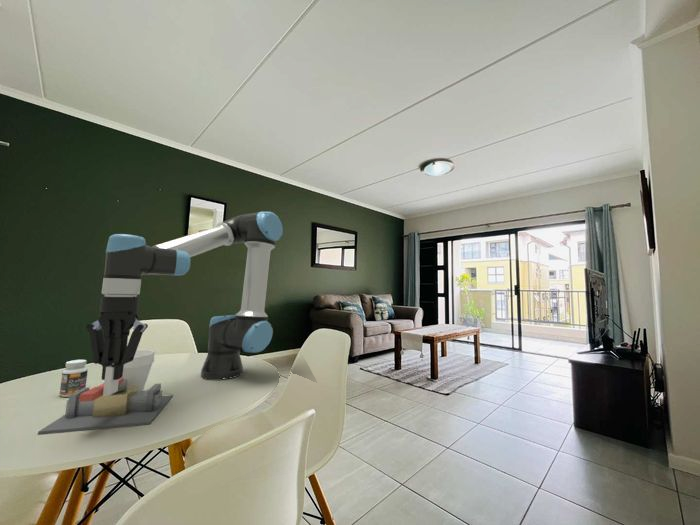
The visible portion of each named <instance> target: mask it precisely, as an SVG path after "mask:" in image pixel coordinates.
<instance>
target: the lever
mask: <svg viewBox="0 0 700 525" xmlns="http://www.w3.org/2000/svg"><path fill="white" fill-rule="evenodd" d="M127 381H128V380H127V379H124V378H120V379H119V382H118V391H117V392H120V391H124V390H126V389H127ZM103 390H104V383H101V384H100V385H98V386H94V387H92V388H89V390H88V391H86V392H84V393H82V394H80V398H79V402H85V401H94V400H95V399H97V398H99V397H101V396H102V395H103Z"/></svg>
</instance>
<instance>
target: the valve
mask: <svg viewBox="0 0 700 525" xmlns="http://www.w3.org/2000/svg"><path fill="white" fill-rule="evenodd" d="M161 388H162V383H154V384H153V385H152V386H151V387H150V388H149V389H147V390H143V391H138V390H139V385H136V386H127V389H126V390H124V391H120V392H115V393H113V394H111V395H102V396H101V397H99V398H97V399H95V400H94V401H85V402H79V398H80V394H82V393H84V392H86V391H88V390H90V389H91V387H90V386H89V387H87V386H86V388H82V389H80V390H78V391H76V392H75V393H73V394H71V395H69V397H68V400H66V405H65V407H66V408H65V413H64V415H65V417H67V419H68V418H74V417H78V416H90V415H93V418H94V417H107V416H119V415H126V414H127V413H129V412H142V411H146V412H152V411H155V410H157V409H158V408H159V407H160V405H161V403H162V396H163V389H161Z"/></svg>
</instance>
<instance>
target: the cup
mask: <svg viewBox="0 0 700 525" xmlns="http://www.w3.org/2000/svg"><path fill="white" fill-rule="evenodd" d="M154 362H155V350H153V349H141V348H140V349H137V350H136V353H135V356H134V359H133V361H131V362H128V363H126V364H124V367H123V376H122V378H124V379H127V380H128V381H127V386H136V385H139V390H138V391H144V389H145V386H146V384H147V380H148V377H149V375H150V371H151V369H152V368H151V367H153V366H152V365H153V363H154Z"/></svg>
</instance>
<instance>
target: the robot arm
mask: <svg viewBox="0 0 700 525" xmlns="http://www.w3.org/2000/svg"><path fill="white" fill-rule="evenodd" d="M283 229H284V227H283V224H282V221H281V220H280V218H279V216H278V215H277V214H276V213H274V212H273V211H258V212H251V213H244V214H241V215H237V216H235V217H231V218H230V219H227V220H224V221H221V222H219V223H217V224H216V225H215V226H213V227H210V228H207V229H204V230H201V231H198V232H194V233H192V234H188V235H184V236H182V237H178V238H175V239H171V240H168V241H165V242H162V243H159V244H155V245H153V246H152V245H151V246H150V245H147V243H146V239H145V238H144V237H143V236H139V235H133V234H127V233H114V234H112V235H110V236H109V237H108V241H107V245H106V249H105V262H104V263H105V264H104V272H103V273H104V274H103V280H102V288H101V294H102V295H104V296H102V297H100V302H99V311H100V314H99V316H98V317H97V320H96V321H94V322H92V323H87V324H86V325H85V328H86V330H87V332H88V334H89V337H90V345H91V352H92V359H93V364H95V365H100V366H102V368H101V369H102V370H101V371H102V372H101V381H102V380H103V381H104V390H103V395H111V394H113V393H115V392H117V391H118V382H119V379H120V378H122V376H123V367H124V364H126V363H128V362H131V361H133V359H134V356H135V353H136V350H138V348H139V346H140V342H141V339H142V336H143V333H145V331H146V330H147V328H148V327H149V324H147V323H143V322H142V321H140V320H139V316H138V311H139V306H140V305H139V303H140V298H139V296H137V295H140V294H141V285H142V276H145V275H147V276H150V275H153V276H155V275H156V276H163V275H164V276H184V275H186V274H188V273H187V272H189V270H190V268H191V258H192V257H195V256H197V255H201V254H204V253H206V252H208V251H211V250H213V249H216V248H219V247H221V246H227V247H228V246H229V247H230V246H232V245H234V244H241V243H243V244H244V245H245V246H246V248H247V252H246V253H247V254H246V263H245V272H244V279H243V288H242V296H241V306H240V310H239V311H238V312H237V313H235V314H230V315H218V316H217V315H216V316H213V317H211V319H210V322H209V326H208V328H209V329H208V343H207V344H208V345H207V355H206V358H205V360H204V363H203V365H202V367H201V370H200V371H201V372H200V378H202V377H203V378H202V379H204V378H206V379H205V380H209V379H222V380H224V379H223V378H229V379H231V378H230V377H234V376H237V375H239V376H241V375H242V374H243V373H242V372H244V366H243V361H242V358H241V355H240V354H241V353H240V351H242V352H245V353H247V354H248V353H252V354H253V353H260V352H262V351H264V350H265V349H266V348H267V347H268V346H269V344H270V342H271V340H272V338H273V333H274V329H273V327H272V324H271V323H270V322H269V321H268V319H269V316H268V314H267V313H266V312H265V308H266V298H267V286H268V278H269V267H270V260H271V259H270V258H271V251H272V250H274V249H275V248H276V241H279V240H280V239H281V238H282V236H283V231H284V230H283ZM130 330H132V332H131V331H130ZM130 332H131V334H130ZM129 336H130V337H129ZM128 339H129V340H128ZM241 373H242V374H241ZM240 374H241V375H240ZM237 377H238V376H237ZM234 378H235V377H234Z"/></svg>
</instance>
